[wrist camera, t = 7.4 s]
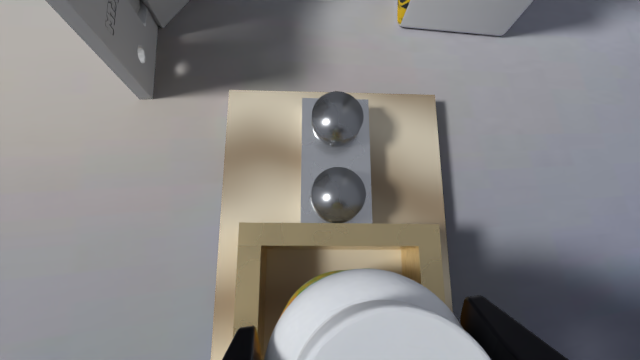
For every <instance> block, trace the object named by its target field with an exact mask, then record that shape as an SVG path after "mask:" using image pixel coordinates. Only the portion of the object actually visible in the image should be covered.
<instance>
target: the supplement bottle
mask: <svg viewBox="0 0 640 360" xmlns="http://www.w3.org/2000/svg"><path fill="white" fill-rule="evenodd" d="M264 360H491V359H490V357H489V356H488V354H487V353H486V352H485V351H484V349H483V348H482V347H481V346H480V345H479V343H478V342H477V341H476V340H475V339H474V338H473V337H472V336H471V335H470V334H469V333H467V332H466V331H465V330H464V329H463V327H462V325H461V324H460V322H459V321H458V319H457V318H456V317H455V315H454V314H453V312H452V311H451V310H450V309H449V308H448V307H447V305H446V304H445V303H444V302H443V301H442V300H441V299H439V298H438V297H437V296H436V295H435V294H434V293H432V292H431V291H430V290H429V289H427V288H426V287H424V286H423V285H421V284H419V283H417V282H416V281H414V280H412V279H410V278H407V277H405V276H403V275H400V274H397V273H394V272H390V271H386V270H380V269H370V268H364V269H351V270H337V271H331V272H327V273H324V274H321V275H318V276H316V277H314V278H313V279H311V280H309V281H308V282H306V283H305V284H304V285H303V286H301V287H300V288H299V289H298V290H297V291H296V292H295V293H294V295H293V296H292V297H291V298H290V300H289V302H288V303H287V305H286V307H285V308H284V310H283V312H282V314H281V316H280V318H279V320H278V322H277V324H276V326H275V328H274V330H273V332H272V335H271V337H270V340H269V343H268V346H267V350H266V353H265V358H264Z"/></svg>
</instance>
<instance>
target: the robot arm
mask: <svg viewBox="0 0 640 360" xmlns="http://www.w3.org/2000/svg"><path fill="white" fill-rule="evenodd" d="M460 321H461V325H462V327H463V329H464V330H465V331H466V332H467V333H469V334H470V335H471V336H472V337H473V338H474V339H475V340H476V341H477V342H478V343H479V345H480V346H481V347H482V348H483V349H484V351H485V352H486V353H487V354H488V356H489V357H490V359H491V360H568V359H567V358H565V357H564V356H563V355H561V354H560V353H559V352H557V351H556V350H555V349H553V348H552V347H551V346H549V345H548V344H546V343H545V342H544V341H542V340H541V339H540V338H538V337H537V336H536V335H534V334H533V333H532V332H530V331H529V330H528V329H526V328H525V327H524V326H522V325H521V324H520V323H518V322H517V321H515V320H514V319H513V318H511V317H510V316H509V315H507V314H506V313H505V312H503V311H502V310H501V309H499V308H498V307H497V306H495V305H494V304H493V303H491V302H490V301H488V300H487V299H486V298H484V297H483V296H479V295H477V296H470V297H466V298H465V300H464V303H463V308H462V312H461V318H460ZM222 360H261V351H260V344H259V340H258V335H257V330H256V327H255V326H246V327H240V328H239V329H238V330H237V332H236V334H235V336H234V338H233V339H232V341H231V343H230V345H229V347H228V349H227V351H226V353H225V355H224V357H223V359H222Z"/></svg>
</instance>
